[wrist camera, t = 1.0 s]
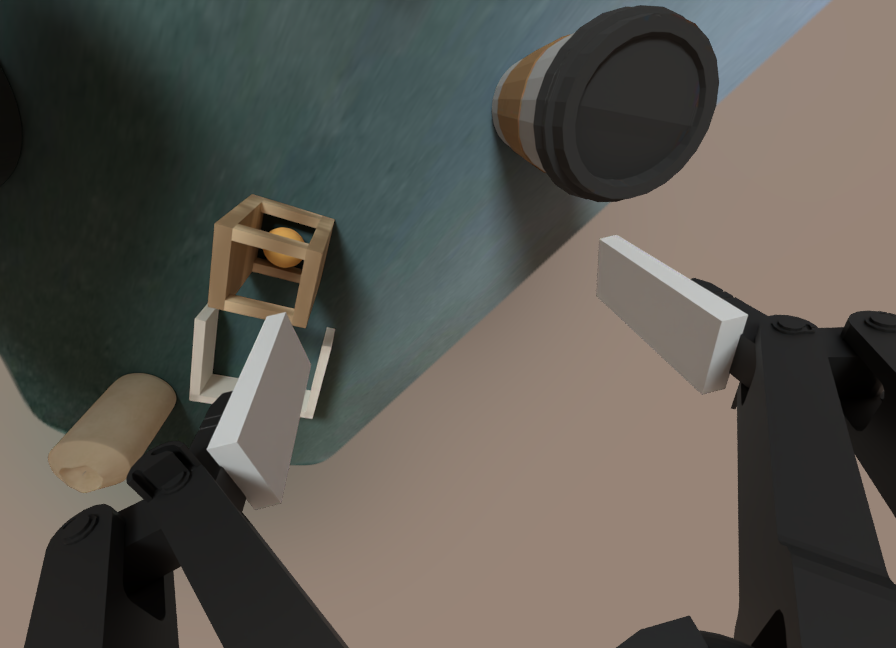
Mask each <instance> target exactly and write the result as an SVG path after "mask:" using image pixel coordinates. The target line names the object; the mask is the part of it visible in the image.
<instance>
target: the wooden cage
mask: <svg viewBox="0 0 896 648" xmlns="http://www.w3.org/2000/svg"><path fill="white" fill-rule="evenodd" d="M264 213H266V214H269V215H273V216H276V217H280V218H283V219H286V220H290V221H293V222H296V223H300V224H303V225H307V226H310V227H313V228H316V230H315V233H314V235H313V237H312V239H311V241H310V243H309V244H308V243H304V242H301V241H297V240H294V239H290V238H287V237H283V236H280V235H276V234H272V233H269V232H265V231H262V230H261V228H262V221H263V214H264ZM334 221H335V219H332V218H328V217H325V216H322V215H319V214H315V213H312V212H309V211H306V210H302V209H299V208H296V207H293V206H289V205H286V204H283V203H280V202H276V201H273V200H270V199H267V198H263V197H260V196H257V195H254V194H252V195H250V196H249V197H248V198H246V199H245V200H244V201H243V202H241V203H240V204H239V205H238V206H236V207H235V208H234V209H232V210H231V211H230V212H229V213H227V214H226V215H225V216H224V217H222V218H221V219H220V220H218V221H217V222H216V223H215V226H214V238H213V250H212V261H211V273H210V285H209V297H208V307H210V308H215V309H219V310H224V311H229V312H233V313H238V314H242V315H247V316H252V317H256V318H261V319H266V317H267V316H271V315H275V314H279V313H284V312H286V313H287V315H288V317H289V320H290V322H291V324H292V325H293V326H298V327H302V328H306V325H307V322H308V319H309V316H310V313H311V310H312V307H313V304H314V300H315V297H316V294H317V291H318V288H319V285H320V281H321V277H322V273H323V268H324V264H325V260H326V255H327V251H328V247H329V242H330V238H331V234H332V229H333V225H334ZM259 248H261V249H265V250H269V251H273V252H276V253H280V254H284V255H287V256H291V257H295V258H299V259H302V260H304V265H303V269H299V268H296V267H288V268H283V267H279V266H276V265H274V264H273V263H271V262H270V261H269V260H265V259H261V258H257V256H258V249H259ZM252 271H253V272H257V273H261V274H265V275H269V276H273V277H277V278H281V279H285V280H289V281H293V282H297V283H300V284H299V289H298V294H297V299H296V304H295V309H293V308H289V307H284V306H280V305H276V304H271V303H267V302H263V301H258V300H254V299H250V298H245V297H241V296H237V295H235V294H236V293H237V292H238V290H239V289H240V287H241V286H242V285H243V283H244V282H245V281H246V279H247V278H248V276H249V275H250V274H251V272H252Z"/></svg>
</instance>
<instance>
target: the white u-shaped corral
mask: <svg viewBox="0 0 896 648" xmlns="http://www.w3.org/2000/svg"><path fill="white" fill-rule="evenodd" d="M218 314H219V309H215V308H210V307H208V303H207V305H206V306H205V307H204V308H203V310H202V311H201V312H200V313H199V314H198V316H197V317H196V318H195V323H194V337H193V352H192V366H191V381H190V396H189V400H190V401H196V402H203V403H210V404H213V403H214V402H215V401H216V399H217V398H218V397H219V396H220V395H221V394H222V393H225V392H230V391H233V390H234V388H235V386H236V383H237V381H238V379H239V378H234V377H228V376H223V375H217V374H212V373H213V363H214V353H215V343H216V333H217V324H218ZM334 332H335V329H334V328H329V327H327V328H326V332H325V336H324V340H323V344H322V348H321V352H320V356H319V360H318V364H317V368H316V372H315V376H314V379H313V383H312V387H311V391H310V390H306V391H305V395H304V400H303V405H302V409H301V414H300V417H303V418H310V419H313V415H314V411H315V407H316V404H317V400H318V396H319V393H320V389H321V385H322V381H323V378H324V374H325V370H326V366H327V363H328V359H329V355H330V352H331V348H332V343H333V338H334Z"/></svg>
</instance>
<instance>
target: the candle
mask: <svg viewBox="0 0 896 648" xmlns="http://www.w3.org/2000/svg"><path fill="white" fill-rule="evenodd" d="M175 403H176V394H175V391H174V390H173V388H172V387H171V386H170V385H169V384H168V383H167V382H165V381H164V380H162V379H160V378H158V377H156V376H153V375H150V374H145V373H131V374H126V375H124V376H122V377H120V378H119V379H117V380H116V381H115V382H114V383H113V384H112V385H111V386H110V387H109V388H108V389H107V390H106V391H105V392H104V393H103V394H102V396H101V397H100V398H99V399H98V400H97V401H96V402H95V403H94V404H93V405H92V406H91V407H90V409H89V410H88V411H87V412H86V413H85V414H84V415H83V416H82V417H81V418H80V419H79V420H78V422H77V423H76V424H75V425H74V426H73V427H72V428H71V429H70V430H69V431H68V432H67V433H66V435H65V436H64V437H63V438H62V439H61V440H60V441H59V442H58V443H57V444H56V446H55V447H54V448H53V449H52V450H51V451H50V453H49V455H48V461H49V464H50V467H51V469H52V471H53V472H54V473H55V475H56V476H57V477H58V478H60V479H61V480H62V481H63V482H64V483H66V484H67V485H68V486H69V487H71V488H73V489H76V490H77V491H79V492H81V493H87V492H91V491H94V490H97V489H101V488H105V487H109V486H112V485H116V484H118V483H121V482H123V481H124V480H125V479H126V478H127V474H128V472H129V470H130V469H131V467H132V466H133V465H134V464H135V463H136V461H137V460H138V459H139V458H141V457H142V455H143V454H144V452H145V450H146V449H147V447H148V446H149V444H150V443H151V441H152V440H153V438H154V437H155V435H156V434H157V432H158V431H159V429H160V428H161V426H162V425H163V423H164V422H165V420H166V419H167V417H168V416H169V414H170V413H171V411H172V409H173V408H174V406H175Z"/></svg>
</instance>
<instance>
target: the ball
mask: <svg viewBox="0 0 896 648" xmlns="http://www.w3.org/2000/svg"><path fill="white" fill-rule="evenodd" d="M269 233H272V234H276V235H280V236H283V237H287V238H290V239H294V240H297V241H301V242H304V240H303V238H302V237H301V236H300V235H299V234H298V233H297V232H296V231H294V230H292V229H290V228H284V227H280V228H276V229H273V230H271V231H270V232H269ZM304 243H305V242H304ZM263 251H264V254H265V256H266V258H267V259H268V260H269V261H270V262H271V263H273V264H274V265H276V266H279V267H283V268H288V267H293V266H295V265H297V264H298V263H300V262H301V261H302V259H299V258H295V257H291V256H287V255H284V254H280V253H276V252H273V251H269V250H265V249H263Z"/></svg>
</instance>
